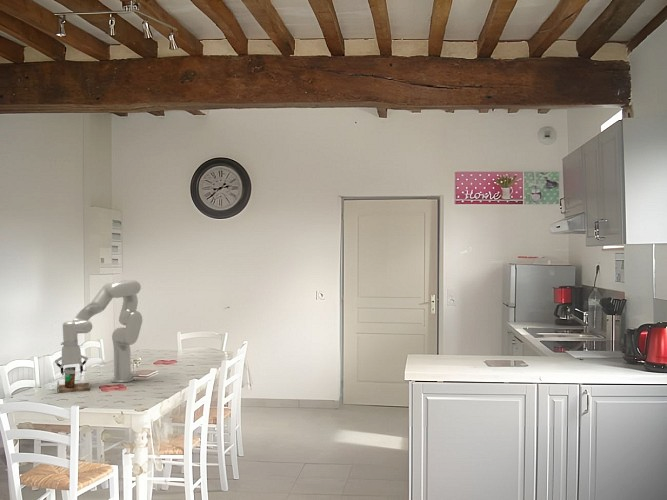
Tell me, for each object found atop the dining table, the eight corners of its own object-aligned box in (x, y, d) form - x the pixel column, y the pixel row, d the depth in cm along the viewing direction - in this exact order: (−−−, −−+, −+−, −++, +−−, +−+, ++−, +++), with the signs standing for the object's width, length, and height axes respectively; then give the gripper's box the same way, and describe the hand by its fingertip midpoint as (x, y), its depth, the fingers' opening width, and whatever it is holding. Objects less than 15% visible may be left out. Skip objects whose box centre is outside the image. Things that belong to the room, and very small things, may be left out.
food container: (62, 384, 397) (64, 366, 397) (74, 384, 399) (75, 366, 399) (62, 388, 385) (63, 370, 386) (74, 388, 388) (75, 370, 388)
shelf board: (89, 385, 404) (89, 379, 404) (90, 390, 389) (90, 384, 389) (57, 387, 398) (57, 381, 398) (57, 393, 383) (57, 386, 383)
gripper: (54, 346, 386) (55, 376, 387) (87, 343, 392) (88, 373, 393) (54, 344, 393) (55, 374, 394) (86, 341, 399) (88, 371, 400)
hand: (72, 373), depth 393 cm, fingers open, 9 cm apart
